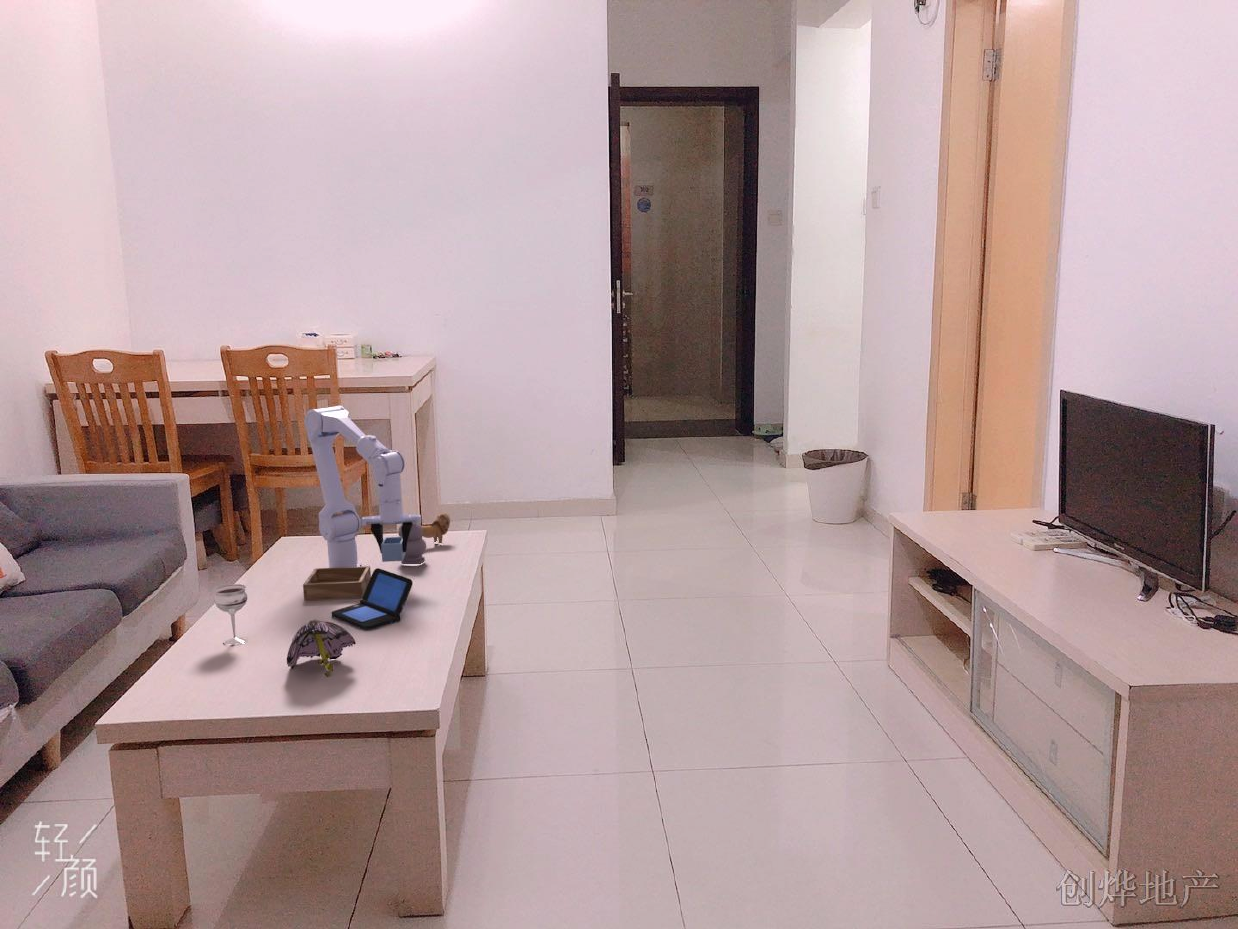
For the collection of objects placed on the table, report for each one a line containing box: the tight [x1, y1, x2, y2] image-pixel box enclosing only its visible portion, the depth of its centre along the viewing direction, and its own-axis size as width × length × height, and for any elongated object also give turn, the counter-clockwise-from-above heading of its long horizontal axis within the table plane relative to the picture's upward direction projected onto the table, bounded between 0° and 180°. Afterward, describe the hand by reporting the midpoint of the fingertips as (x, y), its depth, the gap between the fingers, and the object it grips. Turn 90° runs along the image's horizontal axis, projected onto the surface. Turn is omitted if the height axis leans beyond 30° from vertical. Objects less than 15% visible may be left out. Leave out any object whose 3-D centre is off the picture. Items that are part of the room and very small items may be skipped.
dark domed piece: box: [286, 619, 357, 677], centre depth 205 cm, size 14×12×15 cm
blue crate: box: [381, 536, 406, 563], centre depth 260 cm, size 7×5×4 cm
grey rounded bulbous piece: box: [397, 523, 427, 564], centre depth 279 cm, size 8×8×12 cm
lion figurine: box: [421, 513, 451, 544], centre depth 296 cm, size 15×5×9 cm, turn 131°
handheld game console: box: [331, 567, 414, 631], centre depth 236 cm, size 16×13×9 cm
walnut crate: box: [302, 565, 372, 601], centre depth 257 cm, size 14×14×4 cm
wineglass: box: [213, 583, 248, 645], centre depth 221 cm, size 7×7×12 cm
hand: (393, 551), depth 260 cm, fingers closed on blue crate, 5 cm apart
